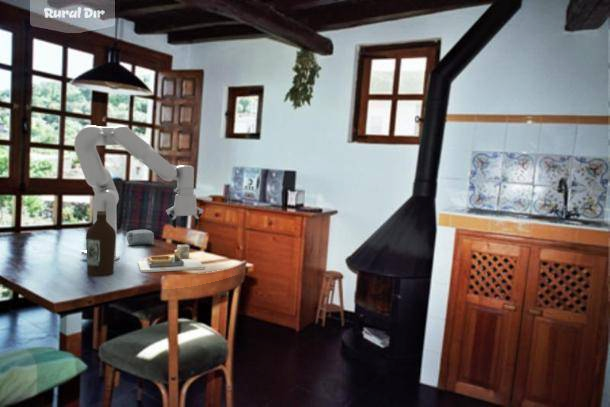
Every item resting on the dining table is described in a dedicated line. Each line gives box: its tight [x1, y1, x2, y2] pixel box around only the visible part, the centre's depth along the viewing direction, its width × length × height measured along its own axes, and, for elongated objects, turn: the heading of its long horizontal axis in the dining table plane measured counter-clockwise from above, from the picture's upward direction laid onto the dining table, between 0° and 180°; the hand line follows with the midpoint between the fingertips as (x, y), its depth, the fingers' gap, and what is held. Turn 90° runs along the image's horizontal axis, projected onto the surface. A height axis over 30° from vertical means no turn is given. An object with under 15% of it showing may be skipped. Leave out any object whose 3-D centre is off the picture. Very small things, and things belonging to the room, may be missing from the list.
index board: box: [136, 258, 205, 273], centre depth 186 cm, size 26×16×1 cm, turn 116°
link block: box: [176, 244, 190, 259], centre depth 203 cm, size 5×5×6 cm
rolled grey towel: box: [126, 229, 155, 246], centre depth 227 cm, size 14×10×10 cm
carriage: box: [146, 249, 184, 267], centre depth 185 cm, size 14×10×6 cm
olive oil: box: [85, 211, 117, 277], centre depth 167 cm, size 11×11×25 cm
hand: (185, 227), depth 202 cm, fingers open, 9 cm apart
